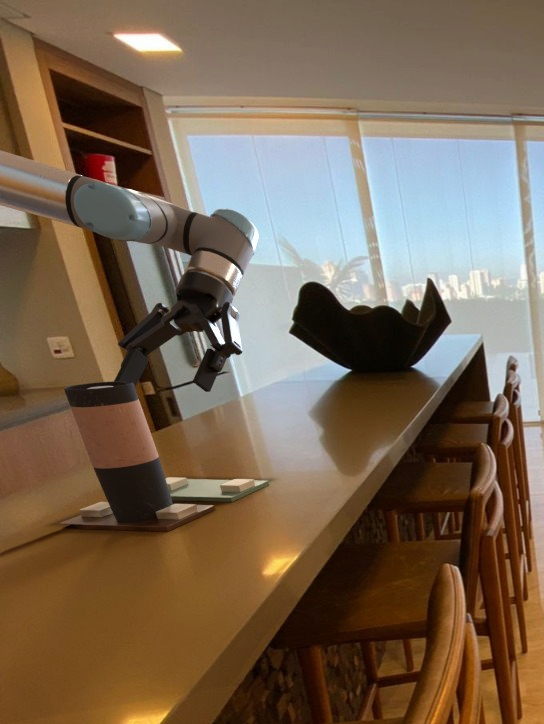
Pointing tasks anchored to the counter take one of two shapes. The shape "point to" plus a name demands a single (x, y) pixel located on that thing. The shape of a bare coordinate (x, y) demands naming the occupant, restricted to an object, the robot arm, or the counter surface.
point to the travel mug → (120, 448)
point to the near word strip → (165, 521)
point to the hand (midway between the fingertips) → (162, 386)
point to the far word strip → (211, 489)
